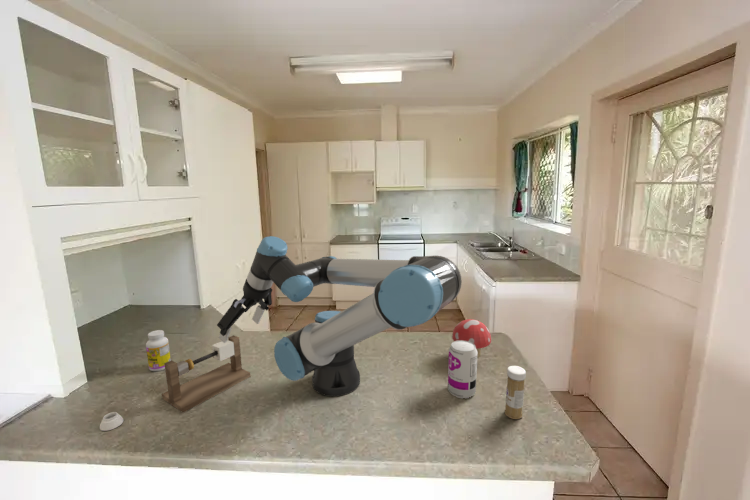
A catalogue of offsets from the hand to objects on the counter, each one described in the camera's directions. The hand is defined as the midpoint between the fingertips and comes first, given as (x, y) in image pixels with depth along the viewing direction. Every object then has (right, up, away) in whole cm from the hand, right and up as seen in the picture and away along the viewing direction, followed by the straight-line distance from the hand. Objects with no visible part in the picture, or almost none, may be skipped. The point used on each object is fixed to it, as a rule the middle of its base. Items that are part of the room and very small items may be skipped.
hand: (239, 330), depth 112 cm
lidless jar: (-26, -21, -20) cm, 39 cm away
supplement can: (+70, -17, -7) cm, 73 cm away
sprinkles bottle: (+82, -19, -18) cm, 86 cm away
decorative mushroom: (+78, -14, +11) cm, 80 cm away
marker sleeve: (-5, -8, 0) cm, 10 cm away
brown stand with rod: (-8, -17, -4) cm, 19 cm away
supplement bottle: (-31, -15, +9) cm, 36 cm away
